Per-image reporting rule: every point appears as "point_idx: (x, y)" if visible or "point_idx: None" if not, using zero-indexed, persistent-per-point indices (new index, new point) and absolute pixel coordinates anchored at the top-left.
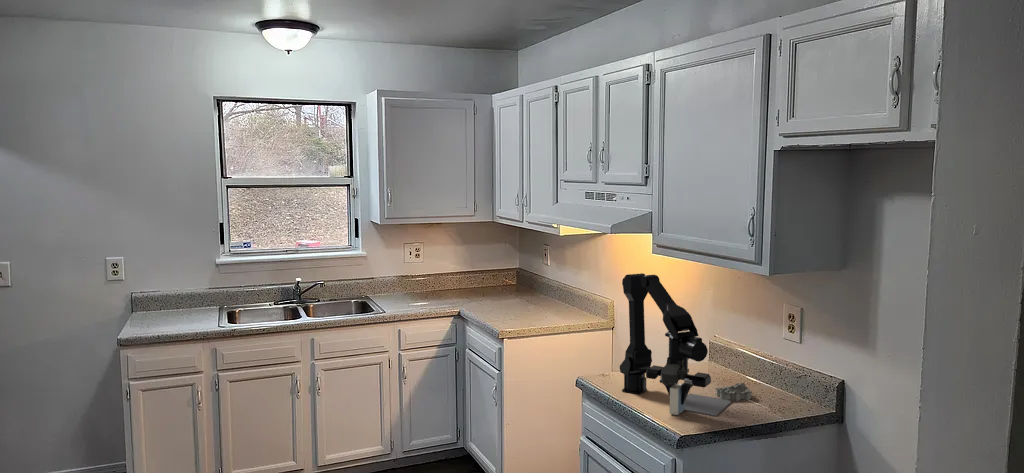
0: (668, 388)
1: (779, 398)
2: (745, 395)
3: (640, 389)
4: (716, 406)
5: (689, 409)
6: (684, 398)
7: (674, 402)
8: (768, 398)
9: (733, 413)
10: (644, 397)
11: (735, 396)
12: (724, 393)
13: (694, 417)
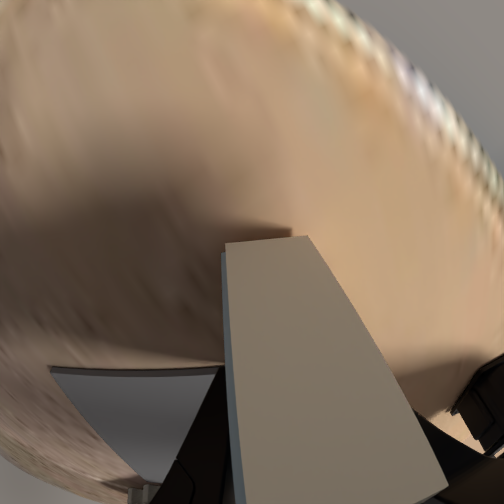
0: (439, 459)
1: (96, 494)
2: (136, 499)
3: (480, 390)
4: (141, 448)
5: None
6: (194, 427)
7: (284, 318)
8: (109, 494)
9: (54, 418)
10: (465, 364)
11: (152, 495)
12: None
13: (112, 298)
